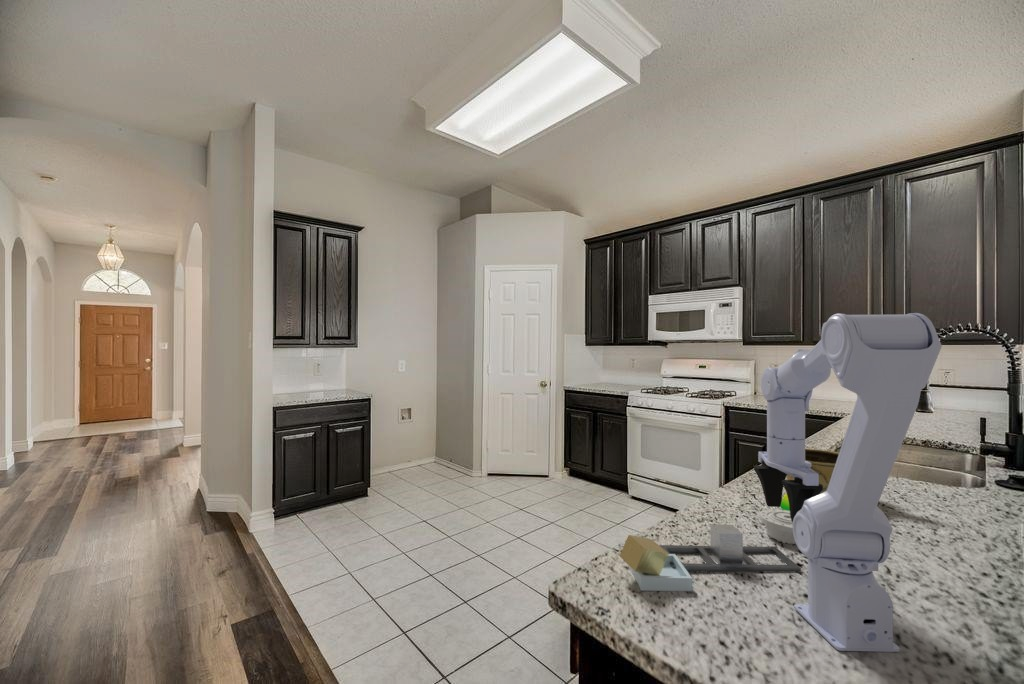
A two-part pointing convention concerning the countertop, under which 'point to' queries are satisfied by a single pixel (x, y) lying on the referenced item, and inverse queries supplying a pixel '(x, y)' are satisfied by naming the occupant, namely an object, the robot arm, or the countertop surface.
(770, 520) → the mechanical component
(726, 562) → the grey block
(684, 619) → the countertop surface
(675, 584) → the parts tray
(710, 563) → the rail
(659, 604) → the countertop surface
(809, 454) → the ceramic bowl
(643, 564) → the tan wooden post
